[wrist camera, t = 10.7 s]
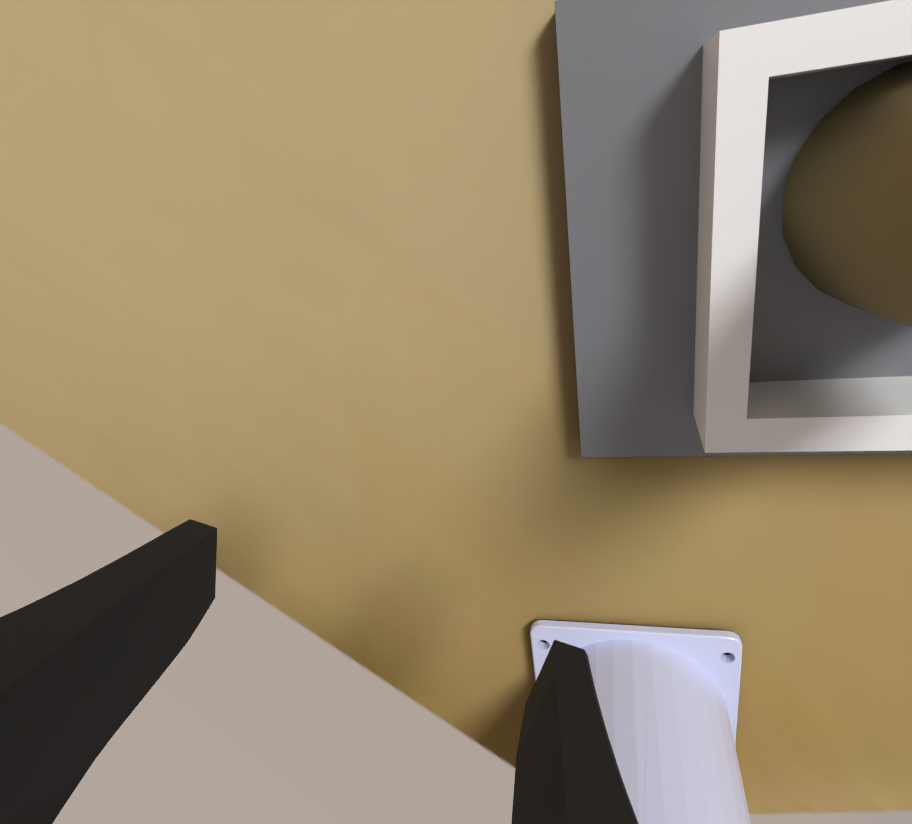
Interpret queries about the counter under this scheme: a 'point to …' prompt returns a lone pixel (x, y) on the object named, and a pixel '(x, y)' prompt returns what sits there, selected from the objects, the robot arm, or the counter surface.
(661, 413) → the socket dock
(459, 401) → the counter surface
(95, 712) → the robot arm
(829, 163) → the cork
